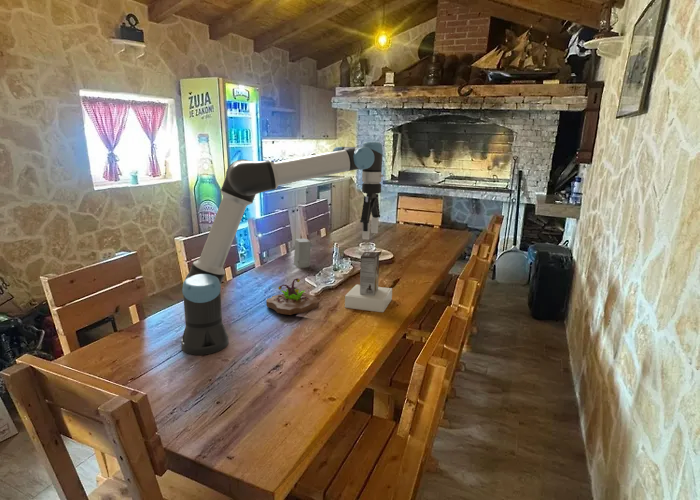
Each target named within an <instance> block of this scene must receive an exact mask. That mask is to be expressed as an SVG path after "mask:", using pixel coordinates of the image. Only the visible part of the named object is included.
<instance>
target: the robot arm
mask: <svg viewBox="0 0 700 500" xmlns="http://www.w3.org/2000/svg"><path fill="white" fill-rule="evenodd" d="M382 167H383V144H382V143H381V142H378V141H377V142H376V141H375V142H374V141H364V142H363V143H362V145H361V146H335V147H334V148H333V150H332V151H330V152H323V153H318V154H312V155H307V156H302V157H296V158H290V159H287V160H286V159H285V160H280V161H272V160H271V159H268V160H262V161H254V160H248V159H243V158H242V159H237V160H235V161H233V162H231V164H230V165H229V166H228V167H227V169H226V171H225V178H224V181H223V183H222V186H221V189H220V192H221V194H222V199H221V201H220V203H219V206H218V210H217V212H216V215H215V217H214V220H213V222H212V224H211V228H210V230H209V233H208V235H207V237H206V241H205V243H204V244H203V245H204V246H203V249H202V251H201V254H200V256H199V258H198V259H196V260H194V261H193V262H192V264H191V267H190V270H189V272H188V274H187V275H186V277H185V279H184V281H183V283H182V289H181V292H182V296H183V310H184V321H185V322H184V323H185V327H184V331H183V333H182V339H181V342H180V343H181V350H182V351H183V352H184V353H186V354H189V355H194V356H203V355H205V356H206V355H210V354H213V353H217V352H220V351H222V350H223V349H225V348H226V347H227V346H228V344H229V335H228V333H227V331H226V328H225V325H224V322H223V316H222V315H223V313H222V299H221V298H222V295H221V291H222V286H221V285H222V282H223V279H224V277H225V274H226V271H225V269H224V264H225V262H226V261H227V260H226V259H227V257H228V255H229V252H230V249H231V247H232V245H233V242H234V239H235V237H236V234H237V231H238V229H239V226H240V223H241V222H242V218H243V216H244V213H245V211H246V208H247V207H248V206H250V205H252V204H253V202H254V200H255V197H256V195H258V194H260V193H264V192H267V191H268V192H269V191H271V190H273V191H274V190H276V189H277V188H278V187H279V186H281V185H286V184H291V183H296V182H301V181H305V180H311V179H316V178H322V177H325V176H330V175H335V174H341V173H345V172H352V171H357V170H362V172H361V173H362V176H361V179H362V180H361V181H362V182H363V183H362V184H361V193H363V194H366V196H363V203H362V209H361V210H362V211H361V217H360V220H359V223H362V224H361V225H362V229H361V232H362V233H361V235H362V236H361V239H362V240H368V241H369V240H370V233H371V234H378V233H379V218H381V213H380V212H381V211H380V202H379V201H380V200H379V194H381V192H382V184H381V182H382V178H383V177H384V176H383V174H382V170H383V169H382ZM370 219H371V221H370ZM370 222H371V224H370ZM370 229H371V230H370Z"/></svg>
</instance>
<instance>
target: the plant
mask: <svg viewBox="0 0 700 500" xmlns="http://www.w3.org/2000/svg"><path fill="white" fill-rule="evenodd" d="M295 282H297V283H299V282H301V280H300V278H296V277H295V278H294V279H293V281H292V282H291V287H290V286H289V285H287V284H285V283H284V284H282V285H280V286H278V290H279V291H280V292H282V293H281V294H276V295H272V296H271V297H268V298H267V299H265V300H266V302H265V303H266V307H268V308H270V309H272V310H274V311H275V313H277V314H281V315H289V316H292V315H296V314H302V313H305V312H308V311H311V310H313V309H317V308H319V302H318V298H317V297H316V296H314V295H313V294H309V293H307V292H306V290H305V289H304V290H301V291H300V289H299V288H298V287H296V286H295ZM282 287H286V290H282Z"/></svg>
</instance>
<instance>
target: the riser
mask: <svg viewBox="0 0 700 500" xmlns="http://www.w3.org/2000/svg"><path fill="white" fill-rule="evenodd" d="M392 299H393V287H385V286H384V287H381V286H378V290H377V292H376V294H375V295H363V294H360V284H356V283H355V285H354V286H353V287H352V288H351V289H350V290H349V291H348V292H347V293H346V294H345V295H344V308H347V309H352V310H353V309H354V310H362V311H370V312H378V313H384V312H385V310H386V309H387V307H388V306H389V304H390V303H391V302H392Z"/></svg>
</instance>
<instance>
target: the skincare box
mask: <svg viewBox="0 0 700 500" xmlns="http://www.w3.org/2000/svg"><path fill="white" fill-rule="evenodd" d="M311 245H312V244H311V241H310V240H309V239H307V238H306V237H305V238H295V239H294V255H293V265H294V266H295V267H296V268H297V269H305V268H310V264H311V261H310V260H311Z"/></svg>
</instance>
